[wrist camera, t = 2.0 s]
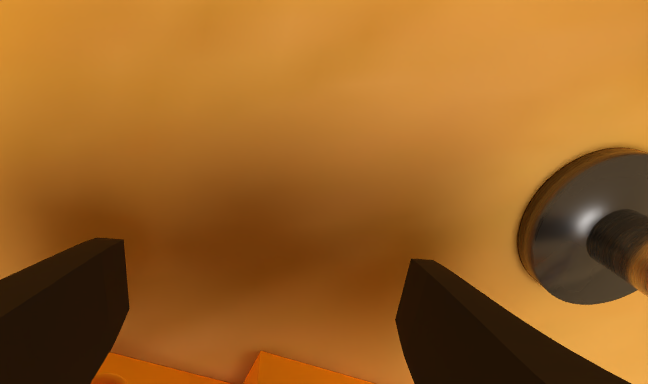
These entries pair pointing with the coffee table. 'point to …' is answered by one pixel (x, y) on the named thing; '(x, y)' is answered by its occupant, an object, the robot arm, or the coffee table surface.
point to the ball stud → (590, 228)
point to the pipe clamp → (263, 379)
